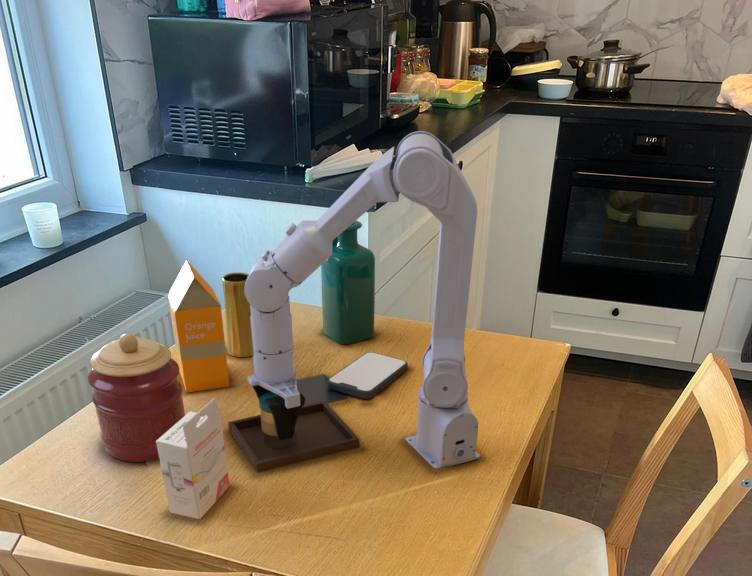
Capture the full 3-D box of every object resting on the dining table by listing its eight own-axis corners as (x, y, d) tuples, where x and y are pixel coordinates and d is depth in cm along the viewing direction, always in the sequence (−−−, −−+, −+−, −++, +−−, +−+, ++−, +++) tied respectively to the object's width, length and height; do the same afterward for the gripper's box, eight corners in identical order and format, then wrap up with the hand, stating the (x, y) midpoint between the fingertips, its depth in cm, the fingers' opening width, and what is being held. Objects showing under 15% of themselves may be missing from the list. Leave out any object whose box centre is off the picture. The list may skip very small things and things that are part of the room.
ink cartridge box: (200, 481, 111) (186, 389, 102) (230, 488, 109) (220, 395, 101) (167, 515, 104) (150, 419, 95) (199, 523, 103) (185, 427, 94)
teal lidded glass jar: (302, 443, 118) (300, 403, 114) (269, 451, 116) (266, 411, 112) (289, 427, 122) (287, 388, 118) (257, 435, 120) (253, 395, 116)
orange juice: (185, 392, 132) (168, 279, 121) (178, 371, 139) (162, 261, 128) (230, 386, 134) (218, 273, 123) (221, 365, 141) (209, 256, 130)
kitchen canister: (85, 445, 118) (59, 337, 108) (152, 412, 127) (133, 309, 117) (140, 474, 112) (118, 363, 102) (207, 437, 120) (192, 331, 110)
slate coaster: (347, 401, 130) (347, 398, 130) (292, 413, 127) (292, 410, 126) (324, 376, 138) (324, 373, 137) (271, 388, 134) (271, 385, 134)
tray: (359, 449, 118) (359, 438, 117) (257, 475, 112) (256, 464, 111) (324, 410, 128) (324, 400, 127) (229, 432, 122) (227, 421, 121)
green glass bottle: (378, 337, 152) (379, 223, 139) (341, 347, 148) (339, 230, 135) (351, 320, 158) (351, 210, 146) (316, 329, 155) (311, 217, 142)
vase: (257, 358, 144) (251, 283, 136) (225, 357, 144) (216, 283, 136) (262, 344, 149) (256, 271, 140) (230, 343, 149) (222, 271, 141)
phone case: (367, 358, 144) (323, 389, 132) (367, 350, 143) (323, 380, 131) (410, 369, 141) (369, 402, 129) (410, 361, 140) (369, 393, 128)
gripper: (230, 332, 114) (238, 413, 122) (263, 372, 103) (270, 457, 111) (275, 324, 117) (280, 403, 124) (312, 362, 106) (315, 446, 114)
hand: (279, 428), depth 118 cm, fingers closed on teal lidded glass jar, 5 cm apart
